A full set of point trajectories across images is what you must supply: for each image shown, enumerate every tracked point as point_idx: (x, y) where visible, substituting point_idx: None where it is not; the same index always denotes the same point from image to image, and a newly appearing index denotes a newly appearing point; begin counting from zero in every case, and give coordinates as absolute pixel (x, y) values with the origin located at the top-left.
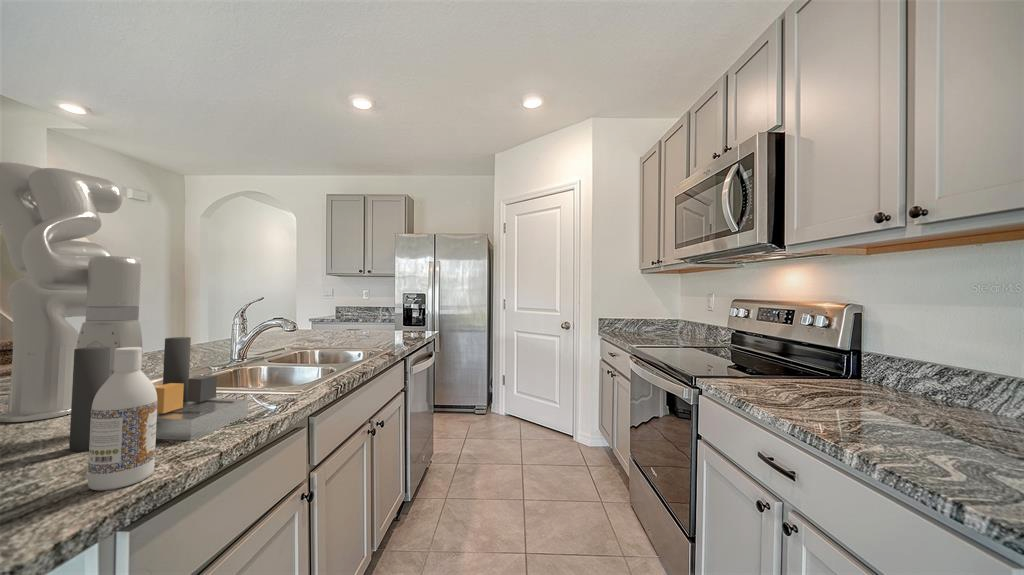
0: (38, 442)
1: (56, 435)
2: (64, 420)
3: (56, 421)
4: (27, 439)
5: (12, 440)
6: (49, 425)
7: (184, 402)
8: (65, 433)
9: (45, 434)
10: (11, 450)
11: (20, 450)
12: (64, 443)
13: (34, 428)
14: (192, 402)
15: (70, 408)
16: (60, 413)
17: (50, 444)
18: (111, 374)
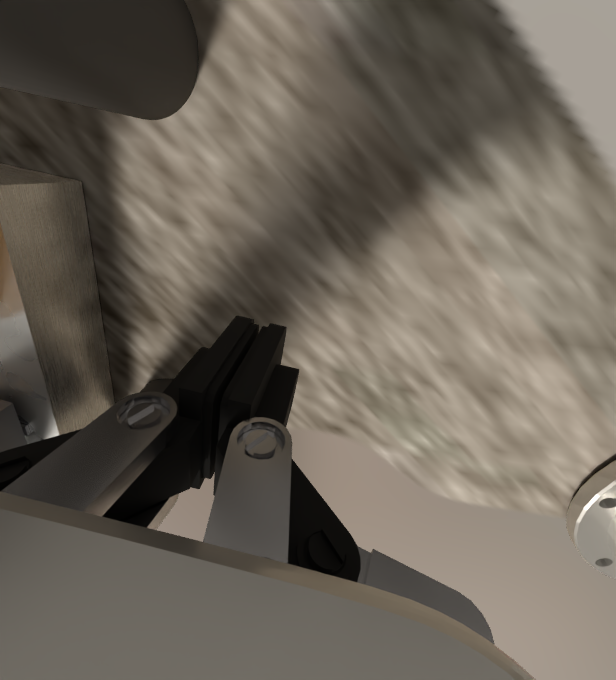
0: (441, 140)
1: (436, 241)
2: (552, 426)
3: (577, 419)
4: (531, 192)
5: (597, 182)
6: (571, 376)
7: (47, 411)
8: (418, 265)
9: (498, 259)
10: (483, 4)
11: (433, 2)
12: (302, 116)
13: (610, 346)
14: (14, 406)
15: (600, 513)
16: (609, 477)
17: (356, 104)
18: (22, 483)
